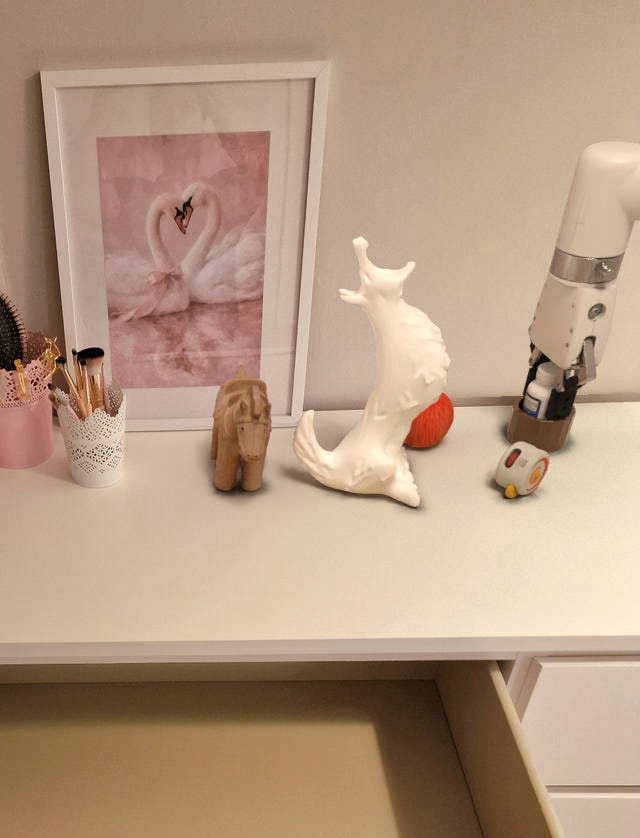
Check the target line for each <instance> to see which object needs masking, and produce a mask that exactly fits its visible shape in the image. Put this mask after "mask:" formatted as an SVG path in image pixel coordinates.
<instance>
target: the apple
mask: <svg viewBox="0 0 640 838" xmlns="http://www.w3.org/2000/svg"><path fill="white" fill-rule="evenodd" d="M454 408H455V407H454V405H453V403H452V400H451V399H450V397H449V396H448V395H447V394H446V393H445V392H444V391H443V392H442V394H441V395H440V397H439V399H438V401H437V402H435V403H434V404H432V405H430V406H429V407H428V408H426V409H425V410H424V411H422V412H421V413H420V414H419V415H418V416H417V417H416V418H415V419H414V420H413V421H412V424H411V428H410V431H409V433H408V435H407V436H406V438H405V440H404V442H403V443H404V444H407V445H408V446H411V447H413V448H428V447H433V446H435V445H436V444H438V443H440V442H441V441H442V440H443V439H444V438H445V436H446V435H447V434H448V433H449V431H450V429H451V427H452V425H453V422H454V420H455V419H454V418H455V409H454Z"/></svg>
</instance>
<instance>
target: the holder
mask: <svg viewBox="0 0 640 838" xmlns="http://www.w3.org/2000/svg"><path fill="white" fill-rule="evenodd" d="M524 400H525V397H524V396H523V395H522V396H519V397H517V398H516V400H514V402H513V404H512V408H511V412H510V415H509V419H508V424H507V427H506V434H505V435H506V438H507V440H508V441H509V442H510V444H511V445H513V444H514V443H516V442H520V441H522V442H526V443H528V444H531V445H533V446H535V447H536V448H537V449H540V450H544V451H546V452H547V453H552V452H556V451H558V450H561V449H563V448H564V447H565V446H566V444H567V441H568V440H569V436H570V433H571V430H572V426H573V423H574V420H575V417H576V415H577V411H576V407H575V405H573V407H572V410H571V413H570V415H569V416H568V417H565V418H561V419H553V420H549V419H540V418H536V417H532V416H530V415H528V414H526V413H524V412H523V411H522V408H523V404H524Z"/></svg>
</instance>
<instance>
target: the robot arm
mask: <svg viewBox="0 0 640 838" xmlns="http://www.w3.org/2000/svg"><path fill="white" fill-rule="evenodd" d="M575 164H576V165H575V168H574V172H573V175H572V181H571V183H570V186H569V187H570V188H569V191H568V194H567V195H568V196H567V199H566V203H565V207H564V211H563V215H562V219H561V223H560V227H559V230H558V234H557V239H556V241H555V247H554V251H553V254H552V258H551V262H550V266H549V270H548V274H547V276H546V279H545V281H544V284H543V286H542V289H541V292H540V295H539V298H538V301H537V304H536V307H535V310H534V315H533V318H532V323H531V324H530V325H529V326H528V336H529V341H530V343H529V348H530V356H529V358H528V366H529V368H528V371H527V375H526V378H525V379H526V380H525V383H524V387H523V390H522V396H524V397H525V396H526V392H527V388H528V386H529V384H530V383H531V382H532V381H533V380H535V379H536V373H537V370H538V367H539V365H541V364H543V363H546V362H554V363H555V364H556V365H558V373H557V383H556V388H555V389H552V391H551V394H550V398H549V401H548V405H547V408H546V412H545V417H546V418H547V419H556V418H565V417H568V416H569V415H570V413H571V410H572V407H573V406H574V403H575V400H576V396H577V393H578V391H580V390H582V388H583V387H584V386H585V385H586V384H588V383H590V382H593V381H595V380H596V379H597V367H599V365H600V364H601V362H602V360H603V356H604V353H605V351H606V347H607V342H608V339H609V336H610V331H611V327H612V323H613V319H614V313H615V308H616V302H617V293H618V291H617V290H618V285H617V284H616V282H617V279H618V276H619V273H620V270H621V267H622V263H623V261H624V257H625V254H626V251H627V248H628V244H629V242H630V238H631V235H632V231H633V228H634V225H635V222H636V221H638V222H639V221H640V141H639V142H638V143H636V142H631V141H624V140H606V141H598V142H595V143H592V144H590V145H588V146H586V147H585V148H584V149H583V150H582V151H581V153H579V156H578V159H577V162H576V163H575ZM573 362H574V363H573ZM575 362H576V363H575ZM569 370H571V371H573V375H570V378H568V379H566V376H567V371H569Z"/></svg>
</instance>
